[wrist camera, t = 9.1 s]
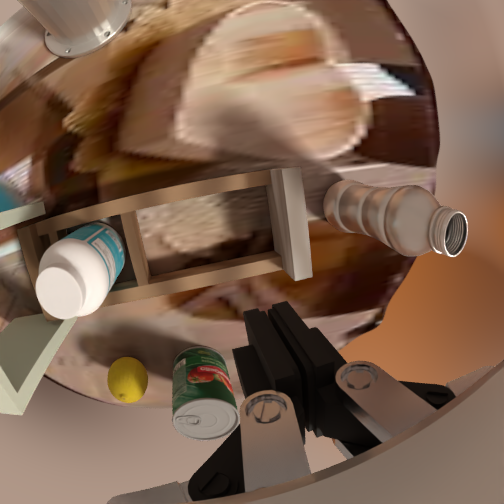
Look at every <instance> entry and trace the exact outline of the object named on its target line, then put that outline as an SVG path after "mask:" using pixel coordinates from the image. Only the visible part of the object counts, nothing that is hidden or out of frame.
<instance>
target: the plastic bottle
mask: <svg viewBox="0 0 504 504" xmlns="http://www.w3.org/2000/svg"><path fill="white" fill-rule="evenodd" d="M323 210H324V214H325V217H326V219H327V220H328V222H329V223H330V224H331V225H332V226H334V227H335V228H336V229H338V230H339V231H342V232H348V233H361V234H365V235H369V236H371V237H373V238H375V239H377V240H380V241H382V242H383V243H385V244H386V245H388V246H389V247H391V248H392V249H394V250H395V251H397V252H399V253H401V254H402V255H405V256H419V255H422V254H424V253H427V252H429V251H431V250H433V251H434V252H437V253H439V254H445V255H447V256H450V257H455V256H457V255H458V254H459V253H460V252H461V251H462V249H463V248H464V246H465V243H466V239H467V235H468V223H467V219H466V216H465V215H464V214H463V213H462V212H461V211H458V210H455V209H452V208H450V207H447V206H441V205H440V204H439V202H438V201H437V200H436V198H435V197H434V195H433V194H432V193H431V192H429V191H428V190H426V189H424V188H422V187H420V186H416V185H407V186H399V187H391V188H387V187H373V186H368V185H364V184H362V183H360V182H357V181H354V180H343V181H339V182H337V183H335V184H333V185H332V186H331V187H330V188H329V189H328V191H327V192H326V194H325V197H324V201H323Z"/></svg>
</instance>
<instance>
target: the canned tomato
mask: <svg viewBox="0 0 504 504" xmlns="http://www.w3.org/2000/svg"><path fill="white" fill-rule="evenodd" d="M172 390H173V393H172V394H173V397H172V398H173V401H172V402H173V405H172V407H173V410H172V411H173V418H172V422H173V426H174V427H175V429H176V430H177V431H178V432H179V433H180V434H181V435H183V436H185V437H187V438H190V439H193V440H199V441H210V440H216V439H220V438H223V437H225V436H227V435H229V434H230V433H232V432H233V431H234V430H235V429H236V428H237V426H238V424H239V421H240V416H239V413H238V411H237V406H236V402H235V398H234V394H233V390H232V386H231V382H230V378H229V374H228V370H227V365H226V361H225V359H224V357H223V356H222V355H221V354H220V353H219V352H218V351H216V350H214V349H212V348H209V347H204V346H195V347H190V348H188V349H185V350H183V351H182V352H180V353H179V354H178V355H177V357H176V358H175V360H174V362H173V389H172Z"/></svg>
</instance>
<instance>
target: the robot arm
mask: <svg viewBox="0 0 504 504" xmlns="http://www.w3.org/2000/svg"><path fill="white" fill-rule="evenodd" d="M18 1H19V2H20V3H21V4H22V5H23V6H24V7H25V8H26V9H27V10H28V11H29V12H30V13H31V14H32V15H33V16H34V17H35V18H36V19H37V20H38V21H39V22H40V23H41V24H42V25H43V27H44V28H45V29H46V31H45V42H46V45H47V47H48V48H49V50H50V51H51V52H52V53H53V54H55V55H57V56H59V57H63V58H76V57H81V56H84V55H87V54H90V53H92V52H94V51H96V50H98V49H100V48H101V47H103V46H105V45H106V44H107V43H109V42H110V41H111V40H112V39H114V38H115V37H116V36H117V35H118V34H119V33H120V32H121V30H122V29H123V28H124V26H125V25H126V23H127V21H128V20H129V18H130V15H131V11H132V3H131V0H18ZM243 315H244V320H245V326H246V331H247V336H248V341H249V345H248V346H244V347H240V348H236V349H232V351H233V356H234V360H235V364H236V368H237V372H238V376H239V379H240V383H241V386H242V390H243V393H244V396H245V400H244V401H243V403H242V405H241V406H240V424H239V425H238V427H237V428H236V429H235V430H234V431H233V432H232V433H231V435H230V436H229V437H228V438H227V439H226V440H225V441H224V442H223V444H222V445H221V446H220V447H219V448H218V449H217V450H216V451H215V452H214V453H213V454H212V456H211V457H210V458H209V459H208V460H207V461H206V462H205V463H204V464H203V465H202V466H201V467H200V468H199V469H198V470H197V471H196V473H194V474H193V476H192V477H191V479H190V480H189V481H186V482H183V483H178V482H177V481H176V482H172V483H169V484H165V485H161V486H157V487H154V488H150V489H145V490H141V491H136V492H132V493H127V494H122V495H118V496H115V497H113V498H112V499H110V500H109V501H108V502H107V504H504V360H503V361H501V362H500V363H499V364H497V365H496V366H495V367H494V366H485V367H482V368H480V369H478V370H476V371H474V372H472V373H469V374H467V375H465V376H462V377H460V378H458V379H455V380H453V381H450V382H448V383H447V384H446V386H442V385H437V384H425V383H415V382H405V381H397V380H396V379H394V378H393V377H392V376H390V375H389V374H388V373H386V372H385V371H384V370H382V369H381V368H380V367H378V366H377V365H375V364H373V363H371V362H367V361H355V362H350V363H347V362H346V361H345V360H344V359H343V357H342V356H341V355H340V354H339V353H338V351H337V350H336V349H335V348H334V347H333V346H332V344H331V343H330V342H329V341H328V340H327V339H326V337H325V336H324V335H323V334H322V333H321V332H320V330H319V329H318V328H316V327H314V328H311V329H309V328H308V327H307V326H306V324H305V323H304V322H303V321H302V319H301V318H300V317H299V316H298V314H297V313H296V312H295V311H294V309H293V308H292V307H291V306H290V304H289V303H288V302H287V301H285V302H281V303H277V304H273V305H272V309H268V316H267V314H266V313H265V311H259V309H258V308H257V309H253V310H248V311H244V312H243ZM268 317H269V318H268ZM305 428H306V429H307V431H308V432H309V431H312V430H313V432H314V433H315V435H316V437H319V436H322V435H323V436H325V437H329V438H332V441H333V443H334V445H335V446H336V447H337V448H338V449H339V451H340V452H341V453H342V454H343V455H344V456H345V457H346V459H347V460H346V461H343V462H341V463H339V464H336V465H334V466H331V467H329V468H326V469H324V470H321V471H318V472H315V473H313V474H311V471H310V467H309V464H308V460H307V456H306V452H305V449H304V444H305Z"/></svg>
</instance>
